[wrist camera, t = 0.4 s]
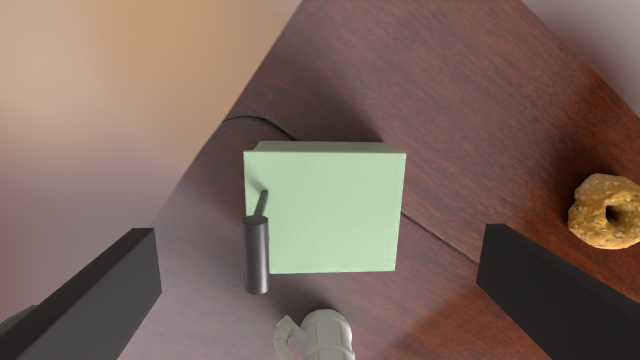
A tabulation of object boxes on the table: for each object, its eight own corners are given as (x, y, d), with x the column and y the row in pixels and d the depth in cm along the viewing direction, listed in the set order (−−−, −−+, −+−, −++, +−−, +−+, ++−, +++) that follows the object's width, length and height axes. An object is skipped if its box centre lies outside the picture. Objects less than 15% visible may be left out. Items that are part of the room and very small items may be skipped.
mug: (332, 356, 47) (344, 441, 35) (263, 327, 45) (252, 408, 33) (359, 319, 46) (380, 395, 34) (289, 286, 43) (287, 356, 32)
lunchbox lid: (249, 270, 34) (232, 336, 25) (244, 150, 31) (222, 174, 21) (392, 267, 36) (427, 328, 26) (403, 151, 32) (448, 175, 23)
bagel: (617, 156, 42) (656, 163, 37) (636, 218, 45) (675, 233, 40) (550, 193, 43) (581, 205, 38) (574, 253, 46) (605, 270, 41)
